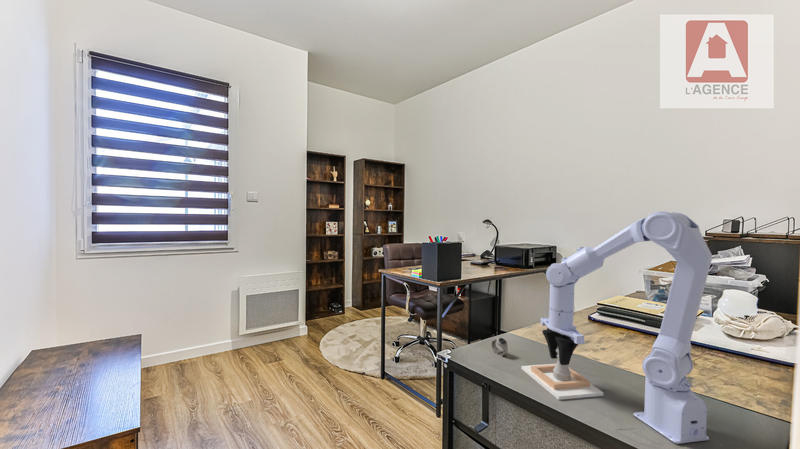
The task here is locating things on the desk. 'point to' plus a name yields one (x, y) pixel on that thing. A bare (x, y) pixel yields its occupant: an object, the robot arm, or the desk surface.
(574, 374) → the socket holder
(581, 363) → the desk surface
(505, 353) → the wristwatch
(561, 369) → the rook chess piece
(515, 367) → the desk surface
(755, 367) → the desk surface
